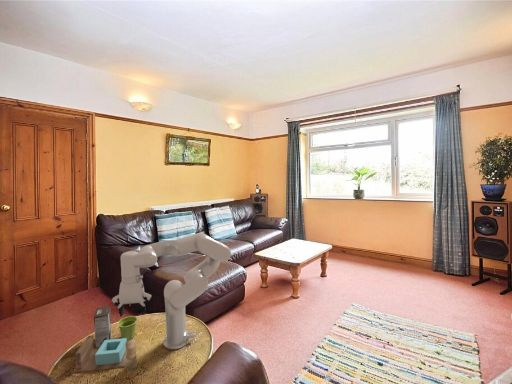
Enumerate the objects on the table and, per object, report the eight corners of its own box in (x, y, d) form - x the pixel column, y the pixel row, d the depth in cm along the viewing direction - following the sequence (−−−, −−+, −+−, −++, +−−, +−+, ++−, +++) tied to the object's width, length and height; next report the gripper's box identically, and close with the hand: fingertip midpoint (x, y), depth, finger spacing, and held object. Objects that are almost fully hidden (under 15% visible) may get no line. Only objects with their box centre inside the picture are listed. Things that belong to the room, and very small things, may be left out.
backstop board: (135, 345, 128) (134, 330, 128) (125, 366, 115) (124, 349, 114) (89, 350, 125) (88, 334, 124) (73, 372, 111) (72, 355, 111)
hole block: (127, 347, 126) (126, 337, 125) (119, 362, 116) (119, 352, 116) (105, 349, 124) (104, 340, 124) (95, 365, 114) (95, 354, 114)
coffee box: (98, 337, 135) (96, 307, 134) (112, 334, 138) (110, 305, 136) (95, 348, 127) (93, 317, 125) (110, 344, 129) (108, 314, 128)
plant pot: (139, 338, 134) (139, 322, 133) (119, 345, 129) (118, 328, 128) (136, 329, 142) (135, 314, 141) (117, 335, 136) (116, 319, 136)
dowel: (137, 363, 116) (136, 338, 115) (135, 370, 112) (133, 344, 111) (128, 364, 116) (127, 339, 115) (125, 371, 112) (124, 345, 111)
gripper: (152, 274, 124) (154, 308, 125) (114, 276, 121) (116, 311, 123) (148, 280, 116) (150, 317, 118) (107, 283, 114) (109, 320, 115)
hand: (132, 314), depth 120 cm, fingers open, 9 cm apart
